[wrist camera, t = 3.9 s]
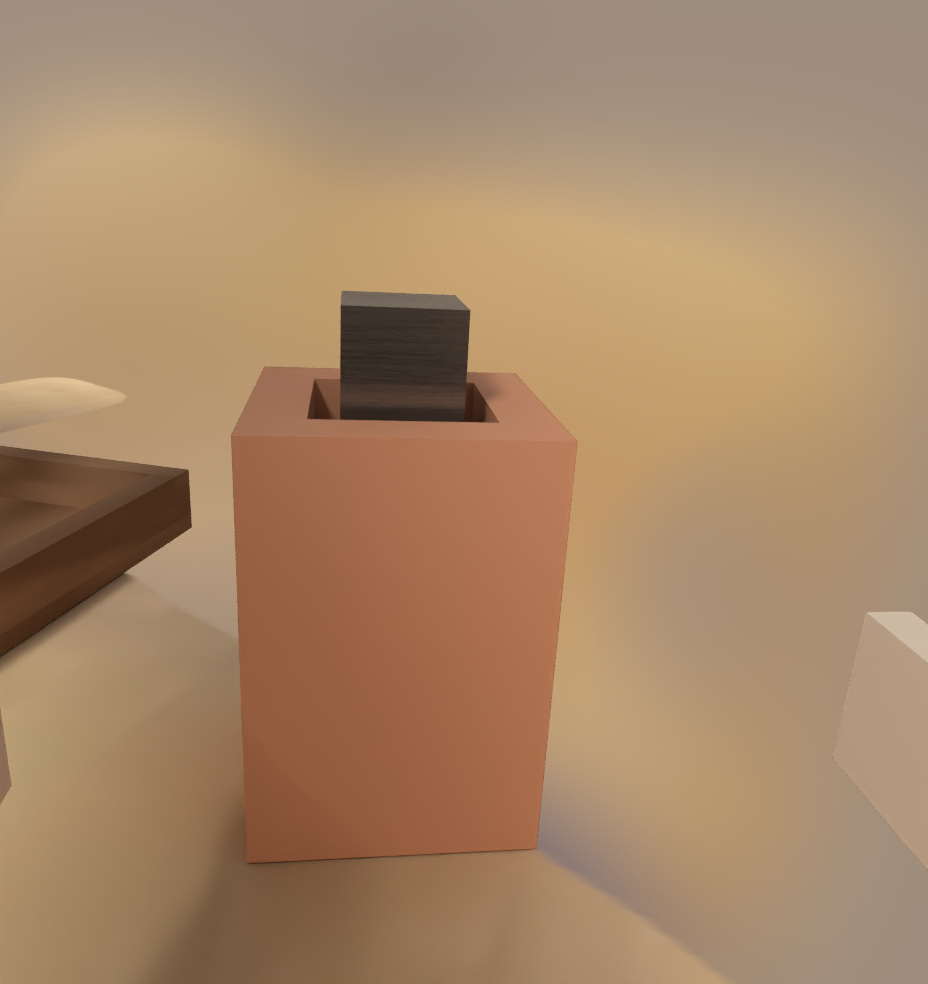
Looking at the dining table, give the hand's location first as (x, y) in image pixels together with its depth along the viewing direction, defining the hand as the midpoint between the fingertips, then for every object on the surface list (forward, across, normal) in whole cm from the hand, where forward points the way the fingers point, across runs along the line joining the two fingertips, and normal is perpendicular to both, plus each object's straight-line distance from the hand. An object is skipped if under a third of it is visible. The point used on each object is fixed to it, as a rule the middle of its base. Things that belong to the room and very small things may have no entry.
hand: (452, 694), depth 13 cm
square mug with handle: (+6, -1, -6) cm, 9 cm away
